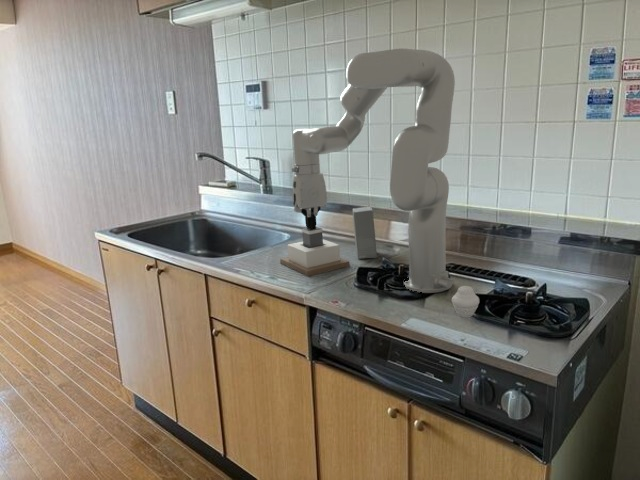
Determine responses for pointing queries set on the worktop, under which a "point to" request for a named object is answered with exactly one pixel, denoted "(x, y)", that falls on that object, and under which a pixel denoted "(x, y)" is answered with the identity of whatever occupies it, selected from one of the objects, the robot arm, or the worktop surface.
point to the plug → (312, 237)
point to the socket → (314, 258)
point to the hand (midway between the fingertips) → (311, 228)
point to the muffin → (465, 301)
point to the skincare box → (364, 232)
